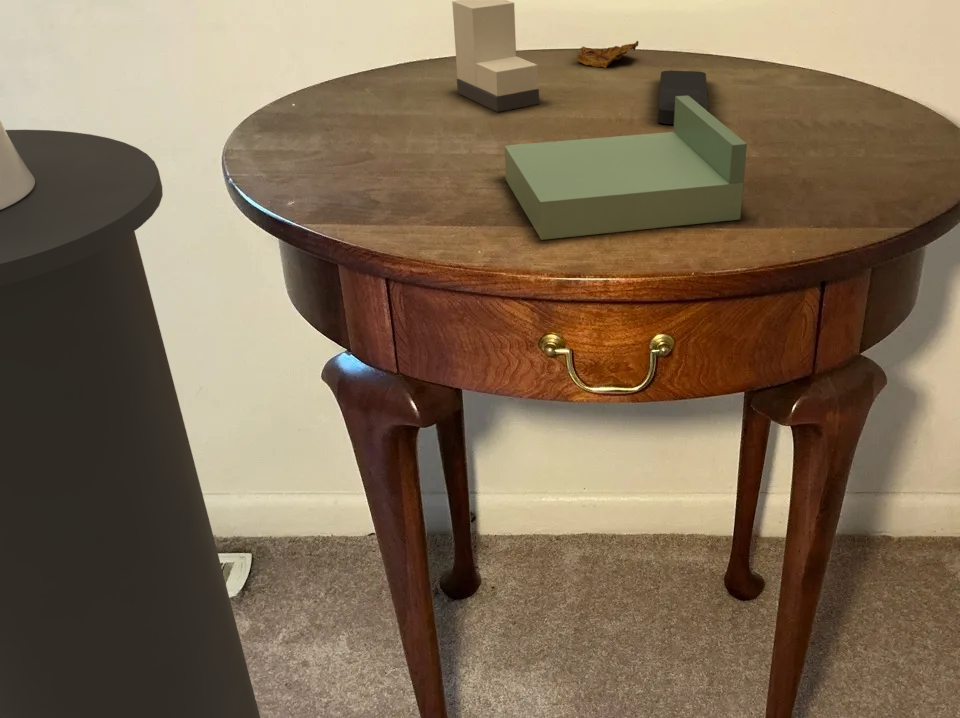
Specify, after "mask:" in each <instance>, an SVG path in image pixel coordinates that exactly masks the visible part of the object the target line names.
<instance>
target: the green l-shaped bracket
mask: <svg viewBox="0 0 960 718" xmlns="http://www.w3.org/2000/svg"><path fill="white" fill-rule="evenodd" d="M747 148H748V143H746V142H745V141H744V140H743V139H742V138H740V136H738V135H737V134H736V133H735V132H733V131H732V130H731V128H728V127H727V126H726V125H725V124H724V123H723V122H721V121H720V120H719V119H717V117H715V116H714V115H713V114H712V113H710V112H709V110H708V111H707V110H705V109H704V108H703V107H702V106H700V105H699V104H698V103H697V102H696V101H694V100H693V99H692V98H691V97H690V96H676V97H675V113H674V124H673V131H667V132H657V133H656V132H655V133H643V134H632V135H631V134H630V135H619V136H616V135H615V136H605V137H592V138H580V139H569V140H556V141H544V142H531V143H519V144H517V143H516V144H505V145H504V165H505V168H504V169H505V180H506V183H507V184H508V186H509V188H510V189H511V192H512V193H513V194H514V196H515V198H516V200H517V201H518V204H519V205H520V206H521V208H522V210H523V212H524V213H525V215H526V217H527V218H528V220H529V222H530V223H531V225H532V226H533V229H534V231H535V232H536V233H537V235H538V237H539V239H540V240H541V241H544V240H554V239H555V240H556V239H564V238H573V237H574V238H575V237H583V236H591V235H592V236H593V235H602V234H612V233H621V232H631V231H640V230H641V231H642V230H650V229H651V230H652V229H660V228H661V229H662V228H670V227H671V228H672V227H681V226H689V225H690V226H691V225H700V224H708V223H709V224H710V223H719V222H729V221H738V220H739V221H740V220H741V213H742V205H743V204H742V203H743V193H744V192H743V191H744V183H745V182H744V181H745V172H746V169H745V168H746V160H747V159H746V158H747Z"/></svg>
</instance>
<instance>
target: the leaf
mask: <svg viewBox="0 0 960 718" xmlns="http://www.w3.org/2000/svg"><path fill="white" fill-rule="evenodd" d="M637 47H639V40H636V41H635V42H634V43H628V44H623V45H621V46H618V45H615V46H611V47H606V48H600V49H599V48H591V47H586V46H581V47H580V48H579V50H580V52H581V53H579V52H578V51H576V53H577V55H576V56H577V60H578V62H579V63H581V64H584V66H592V67H594V68H599V67H600V68H604V69H606V68H607V66H609V65H610V64H611V63H612V62H615V61H618V60H620V59H621V58H622V57H623V56H624V55H625V54H627V53H628V52H629V51H630V50H633V51H635V50H636V49H637Z"/></svg>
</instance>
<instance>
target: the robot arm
mask: <svg viewBox="0 0 960 718" xmlns="http://www.w3.org/2000/svg"><path fill="white" fill-rule="evenodd" d="M5 130H6V129H5V126H4V125H3V123H2V120H0V210H2V209H4V208H6V207H8V206H10V205H12V204H14V203H16V202H18V201H19V200H21V199H22V198H24V197H25V196H26V195H28V194H29V193H30V192H31V191H32V189H33V188H34V186H35V178H34V177H33V175H32V174H31V172H30V171H29V170H28V168H27V167H26V165H25V164H24V162H23V160H22V159H21V157H20V156H19V154H18V152H17V151H16V149H15V147H14V145H13V144H12V142H11V140H10V138H9V136H8V135H7V133H6V131H5Z"/></svg>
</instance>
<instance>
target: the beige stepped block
mask: <svg viewBox="0 0 960 718" xmlns="http://www.w3.org/2000/svg"><path fill="white" fill-rule="evenodd" d="M451 3H452V4H451V5H452V19H453V33H454V46H455V47H454V49H455V62H456V63H455V64H456V77H457V78H456V87H457V94H459V95H461V96H463V97H465V98H466V99H469V100H471V101H474V102H475V103H477V104H480V105H482V106H484V107H486V108H488V109H490V110H492V111H494V112H497V113H500V112H505V111H510V110H515V109H521V108H526V107H531V106H536V105H539V104H540V89H539V71H538V69H539V68H538V67H539V66H538V64H537V63H534V62H531V61H530V60H526V59H524V58H521V57H519V56H517V42H516V39H517V38H516V20H515V19H516V14H515V13H516V12H515V11H516V10H515V2H513V1H510V0H452V2H451Z"/></svg>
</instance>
